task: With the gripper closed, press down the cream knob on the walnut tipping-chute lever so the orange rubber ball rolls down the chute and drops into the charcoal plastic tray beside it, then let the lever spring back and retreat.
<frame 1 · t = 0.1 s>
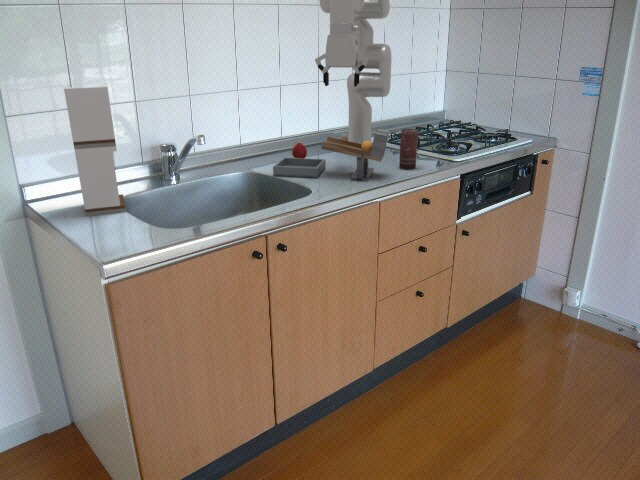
hand: (341, 85, 180), 31 cm above the counter, fingers open, 9 cm apart
chute stand: (362, 175, 194), on the counter
tray: (300, 172, 199), on the counter
can: (407, 168, 204), on the counter
onion: (299, 162, 214), on the counter
ball: (367, 146, 190), point 10 cm above the counter, tilted 9°, touching chute
chute: (357, 137, 194), point 13 cm above the counter, hinge at -10.0°, touching ball
white upright panel: (105, 208, 162), on the counter
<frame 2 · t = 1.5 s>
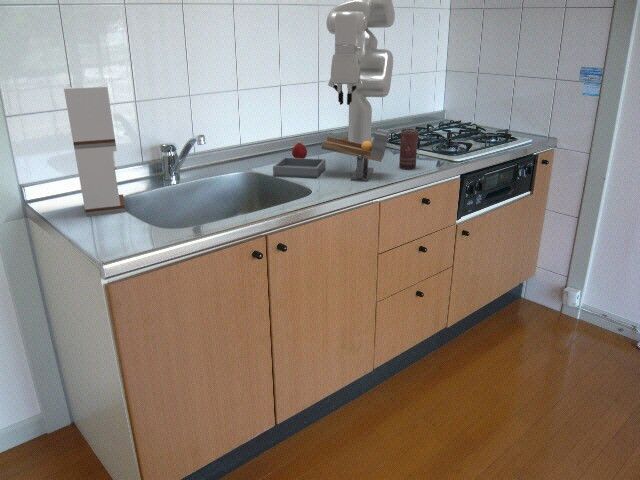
hand: (345, 103, 197), 23 cm above the counter, fingers closed
nothing on the counter moved.
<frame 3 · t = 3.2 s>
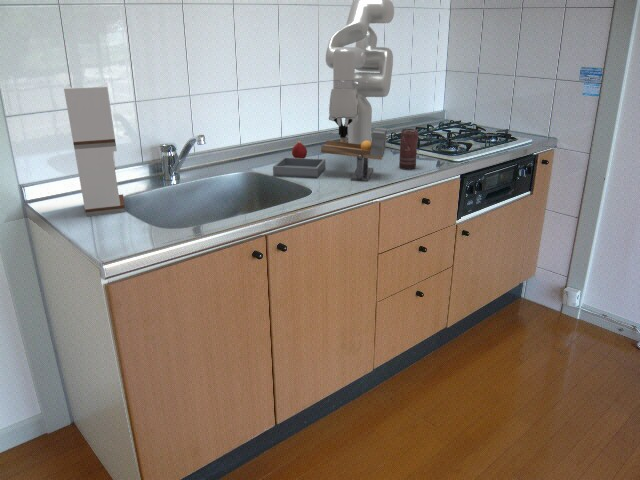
hand: (343, 136, 202), 11 cm above the counter, fingers closed
ball: (366, 146, 190), point 10 cm above the counter, touching chute
chute: (355, 138, 194), point 12 cm above the counter, hinge at -4.5°, touching ball, gripper
everything else where it was.
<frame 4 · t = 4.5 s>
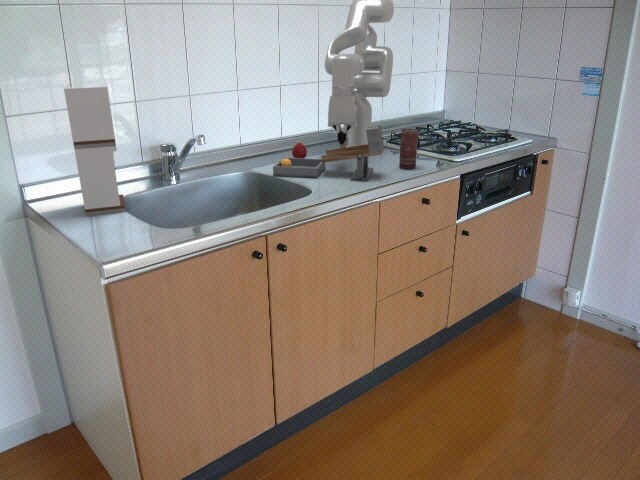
hand: (342, 143, 203), 9 cm above the counter, fingers closed
ball: (286, 164, 199), point 3 cm above the counter, tilted 139°, touching tray
chute: (353, 140, 195), point 11 cm above the counter, hinge at 10.4°, touching gripper
everything else where it was.
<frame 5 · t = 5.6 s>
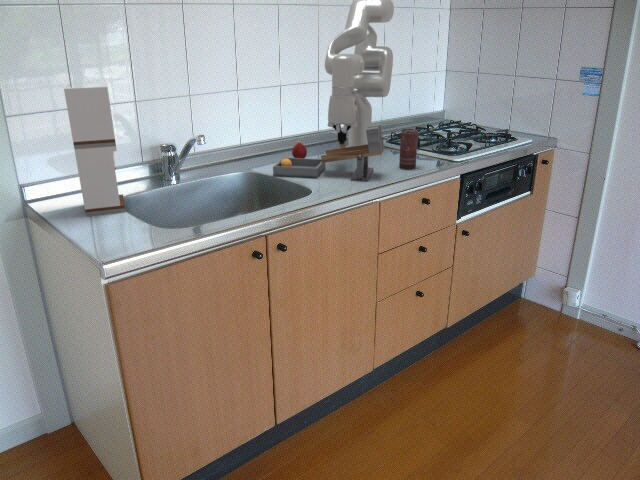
hand: (342, 143, 203), 9 cm above the counter, fingers closed
nothing on the counter moved.
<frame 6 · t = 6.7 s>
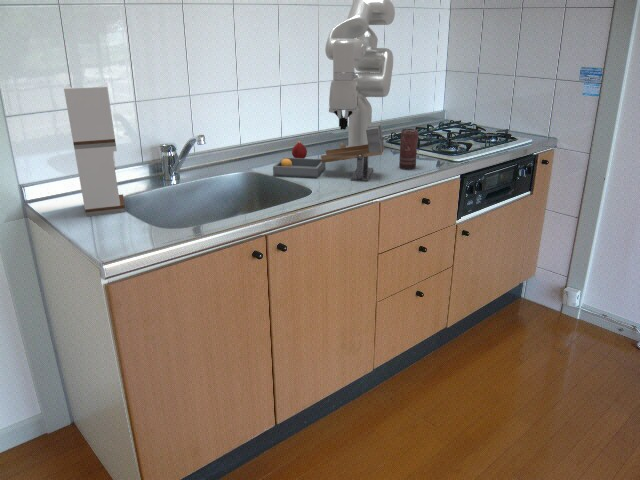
hand: (343, 128, 201), 14 cm above the counter, fingers closed
chute: (353, 140, 195), point 11 cm above the counter, hinge at 10.4°
everything else where it was.
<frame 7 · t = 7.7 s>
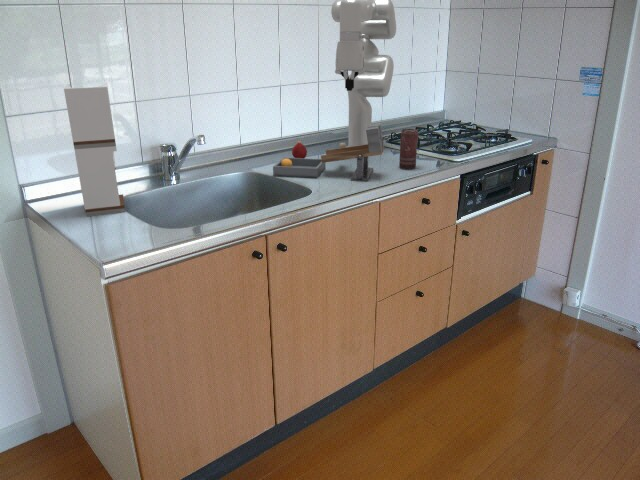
hand: (349, 90, 202), 27 cm above the counter, fingers closed
nothing on the counter moved.
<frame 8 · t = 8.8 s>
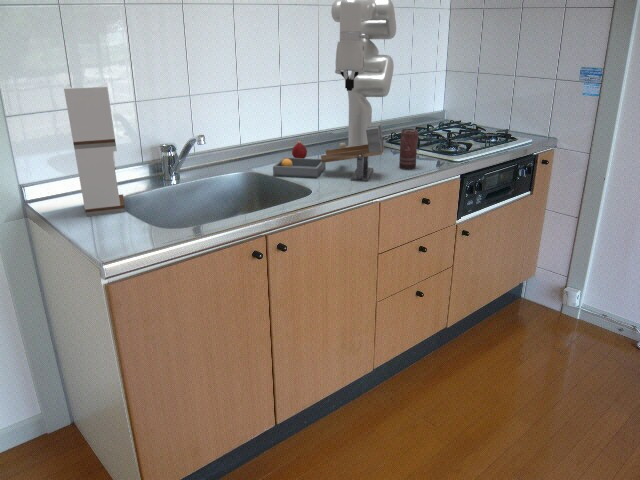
hand: (349, 90, 202), 27 cm above the counter, fingers closed
nothing on the counter moved.
at the end: ball inside the target area on the tray (4.9 cm from its centre), point 2.8 cm above the tray's base; ball moved 29.8 cm from its start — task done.
